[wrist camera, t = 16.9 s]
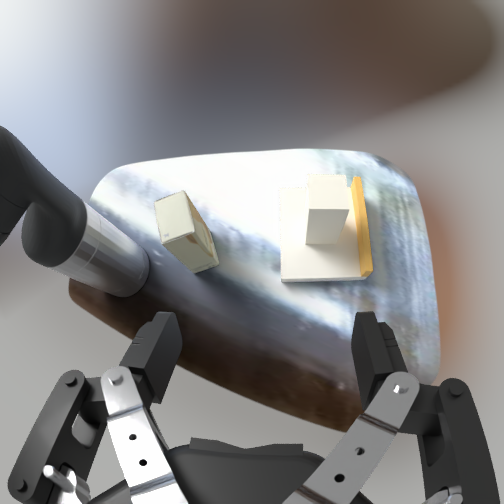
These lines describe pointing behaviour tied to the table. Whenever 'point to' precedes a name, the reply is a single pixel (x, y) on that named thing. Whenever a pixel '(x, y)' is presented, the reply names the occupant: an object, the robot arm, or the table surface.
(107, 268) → the robot arm
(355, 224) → the shelf board
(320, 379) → the table surface
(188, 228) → the skincare box
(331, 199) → the product carton
